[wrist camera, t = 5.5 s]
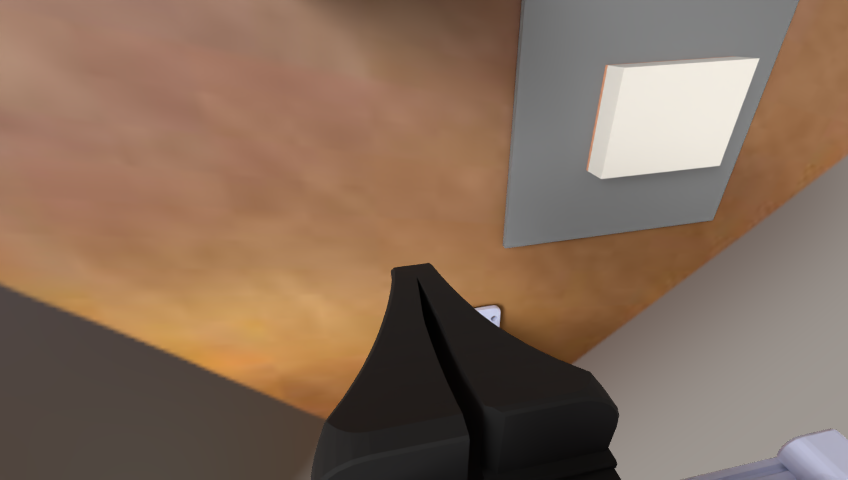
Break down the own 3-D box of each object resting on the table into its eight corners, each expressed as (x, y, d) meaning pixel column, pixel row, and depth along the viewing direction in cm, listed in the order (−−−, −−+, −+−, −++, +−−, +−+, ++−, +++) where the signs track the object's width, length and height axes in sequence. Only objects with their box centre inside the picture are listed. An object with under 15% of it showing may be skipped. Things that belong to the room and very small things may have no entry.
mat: (708, 217, 28) (713, 220, 27) (502, 245, 26) (505, 248, 25) (811, -53, 20) (820, -55, 19) (525, -47, 18) (529, -48, 17)
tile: (586, 170, 23) (698, 157, 25) (601, 179, 22) (719, 165, 23) (605, 64, 20) (733, 56, 22) (624, 67, 19) (759, 58, 20)
